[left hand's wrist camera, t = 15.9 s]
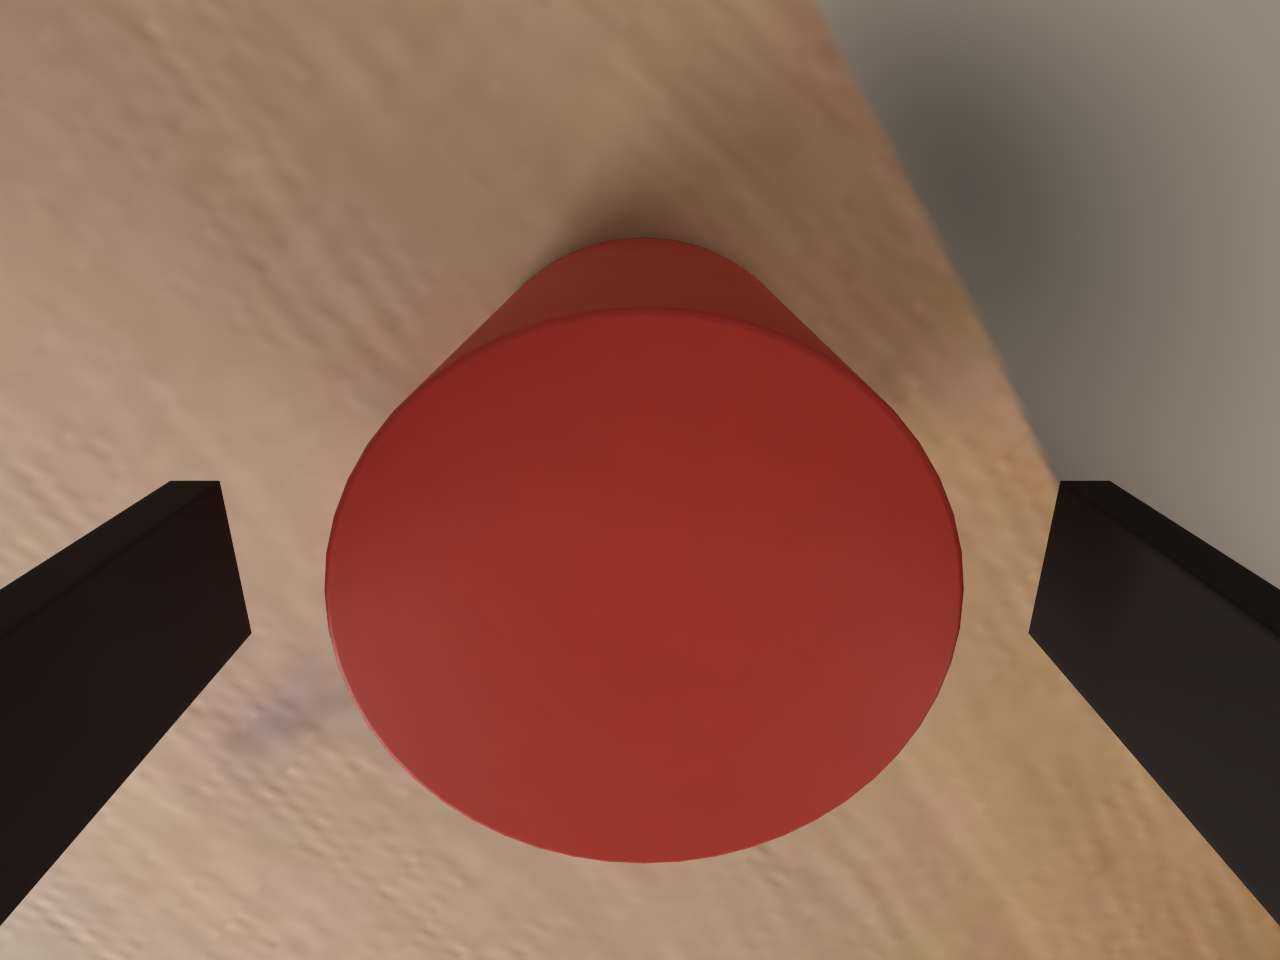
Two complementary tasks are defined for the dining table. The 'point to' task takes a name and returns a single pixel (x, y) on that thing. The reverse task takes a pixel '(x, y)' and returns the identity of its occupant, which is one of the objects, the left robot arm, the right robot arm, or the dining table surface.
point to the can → (644, 566)
